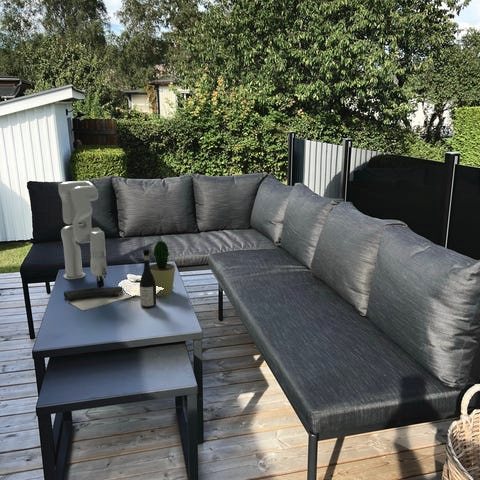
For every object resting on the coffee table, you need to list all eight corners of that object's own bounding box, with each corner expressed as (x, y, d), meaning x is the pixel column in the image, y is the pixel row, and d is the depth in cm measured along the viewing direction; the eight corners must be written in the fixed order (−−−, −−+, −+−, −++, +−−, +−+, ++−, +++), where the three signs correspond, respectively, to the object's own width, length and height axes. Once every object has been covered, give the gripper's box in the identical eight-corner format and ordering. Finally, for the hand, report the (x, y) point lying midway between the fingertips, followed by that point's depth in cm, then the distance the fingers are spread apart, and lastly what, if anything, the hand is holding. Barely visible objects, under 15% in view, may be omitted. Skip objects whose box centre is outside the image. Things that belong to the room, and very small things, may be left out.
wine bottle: (152, 309, 243) (150, 252, 236) (138, 308, 244) (135, 251, 237) (158, 303, 250) (156, 248, 243) (144, 302, 252) (141, 247, 245)
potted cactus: (145, 289, 271) (143, 237, 264) (172, 286, 277) (171, 235, 270) (150, 298, 257) (148, 244, 250) (178, 295, 263) (177, 242, 256)
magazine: (58, 302, 250) (116, 302, 251) (58, 296, 249) (116, 296, 250) (69, 291, 266) (123, 291, 267) (69, 285, 266) (123, 285, 266)
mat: (66, 301, 253) (66, 300, 253) (121, 287, 275) (121, 286, 275) (82, 310, 240) (82, 310, 240) (139, 295, 263) (139, 294, 263)
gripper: (84, 252, 256) (87, 285, 261) (98, 258, 246) (101, 291, 250) (97, 250, 262) (99, 282, 266) (111, 255, 251) (113, 288, 255)
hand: (100, 286), depth 258 cm, fingers closed
